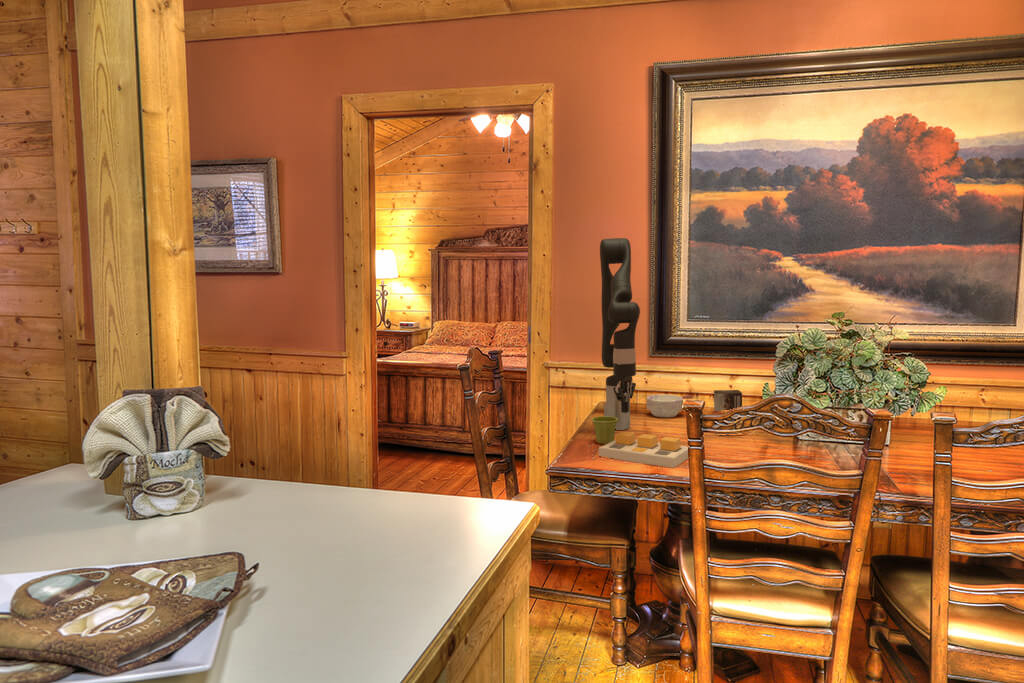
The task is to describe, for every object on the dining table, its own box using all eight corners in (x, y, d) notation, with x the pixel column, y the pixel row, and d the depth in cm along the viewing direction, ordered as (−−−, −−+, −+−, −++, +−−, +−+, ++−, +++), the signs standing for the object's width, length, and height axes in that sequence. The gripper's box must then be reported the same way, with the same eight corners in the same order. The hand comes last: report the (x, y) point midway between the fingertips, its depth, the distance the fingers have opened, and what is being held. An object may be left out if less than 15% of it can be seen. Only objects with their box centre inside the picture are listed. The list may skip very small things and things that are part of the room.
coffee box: (738, 431, 246) (738, 389, 245) (742, 436, 240) (743, 392, 238) (713, 432, 247) (713, 389, 246) (717, 436, 241) (717, 392, 239)
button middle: (637, 445, 217) (637, 437, 217) (643, 442, 222) (643, 433, 221) (651, 447, 215) (651, 438, 214) (657, 444, 219) (657, 435, 218)
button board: (598, 456, 218) (598, 446, 217) (620, 446, 231) (620, 436, 230) (673, 467, 203) (673, 457, 202) (692, 455, 216) (692, 445, 215)
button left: (615, 443, 222) (615, 434, 222) (622, 439, 226) (622, 431, 226) (629, 444, 219) (629, 436, 219) (635, 441, 223) (635, 432, 223)
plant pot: (593, 446, 232) (593, 422, 231) (590, 439, 241) (590, 416, 240) (620, 445, 232) (619, 421, 231) (616, 439, 241) (615, 415, 240)
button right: (660, 448, 213) (660, 439, 213) (666, 445, 217) (666, 436, 217) (675, 450, 210) (675, 441, 210) (680, 447, 214) (680, 438, 214)
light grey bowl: (686, 419, 271) (686, 400, 270) (649, 419, 272) (648, 400, 271) (679, 411, 286) (679, 393, 285) (644, 412, 287) (644, 394, 286)
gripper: (622, 359, 228) (623, 408, 229) (605, 363, 217) (606, 414, 218) (643, 359, 223) (643, 410, 225) (626, 364, 213) (626, 416, 214)
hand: (625, 412), depth 222 cm, fingers closed
